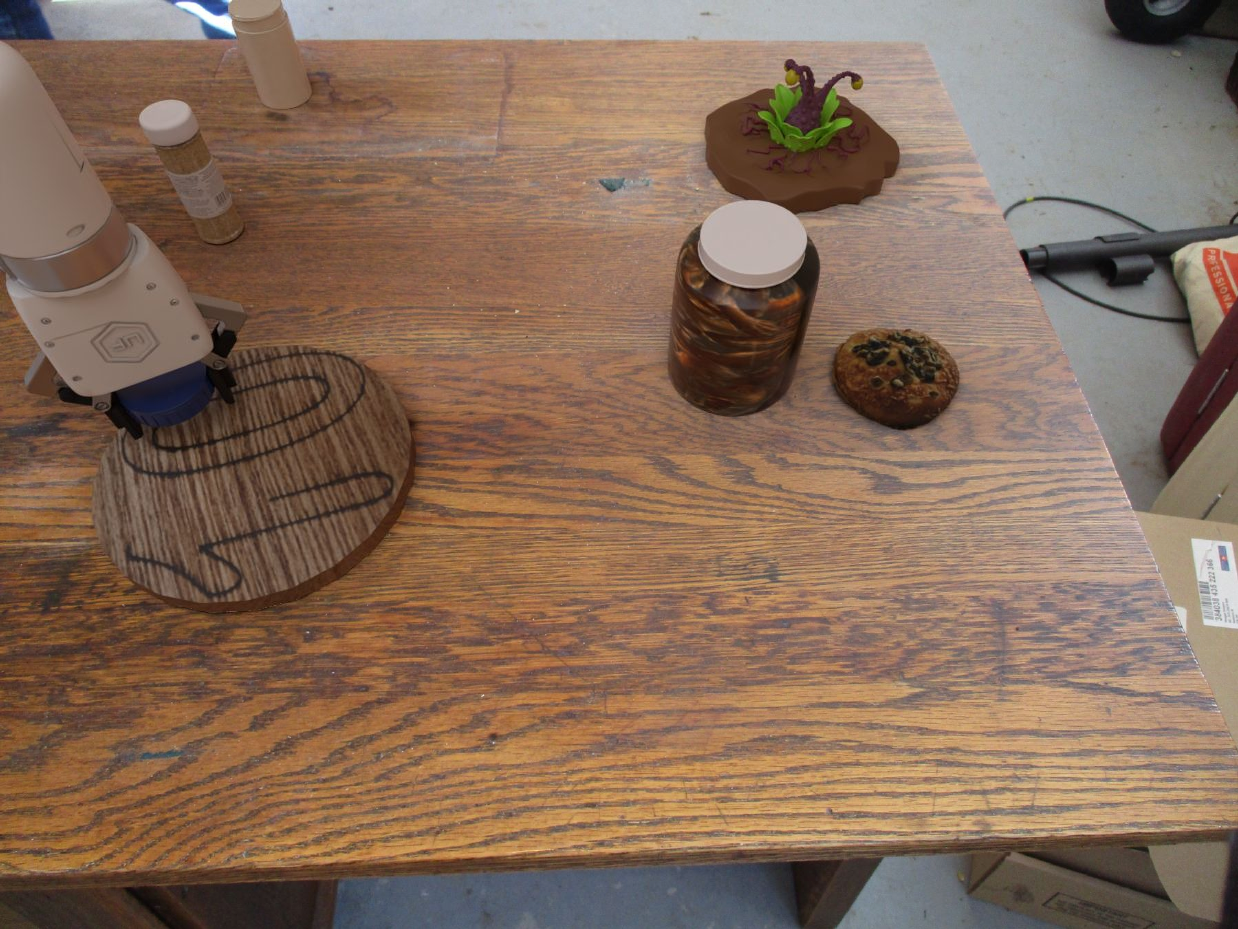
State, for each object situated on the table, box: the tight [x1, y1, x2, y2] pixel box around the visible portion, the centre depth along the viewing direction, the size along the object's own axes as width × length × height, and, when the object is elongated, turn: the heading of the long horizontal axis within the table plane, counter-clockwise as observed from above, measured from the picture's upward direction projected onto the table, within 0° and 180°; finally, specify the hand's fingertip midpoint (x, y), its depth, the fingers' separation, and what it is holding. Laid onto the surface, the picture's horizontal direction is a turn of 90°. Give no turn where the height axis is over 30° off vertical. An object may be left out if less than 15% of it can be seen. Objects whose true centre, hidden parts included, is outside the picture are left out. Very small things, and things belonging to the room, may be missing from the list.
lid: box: [116, 361, 215, 427], centre depth 66 cm, size 7×7×2 cm
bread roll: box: [831, 327, 961, 431], centre depth 73 cm, size 11×11×5 cm
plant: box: [704, 58, 901, 215], centre depth 88 cm, size 20×20×11 cm
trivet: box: [91, 344, 417, 613], centre depth 68 cm, size 25×25×2 cm
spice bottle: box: [138, 99, 245, 245], centre depth 80 cm, size 5×5×14 cm
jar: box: [667, 199, 821, 417], centre depth 69 cm, size 12×12×15 cm
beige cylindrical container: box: [227, 0, 313, 110], centre depth 94 cm, size 6×6×11 cm
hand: (182, 408), depth 69 cm, fingers closed on lid, 6 cm apart
